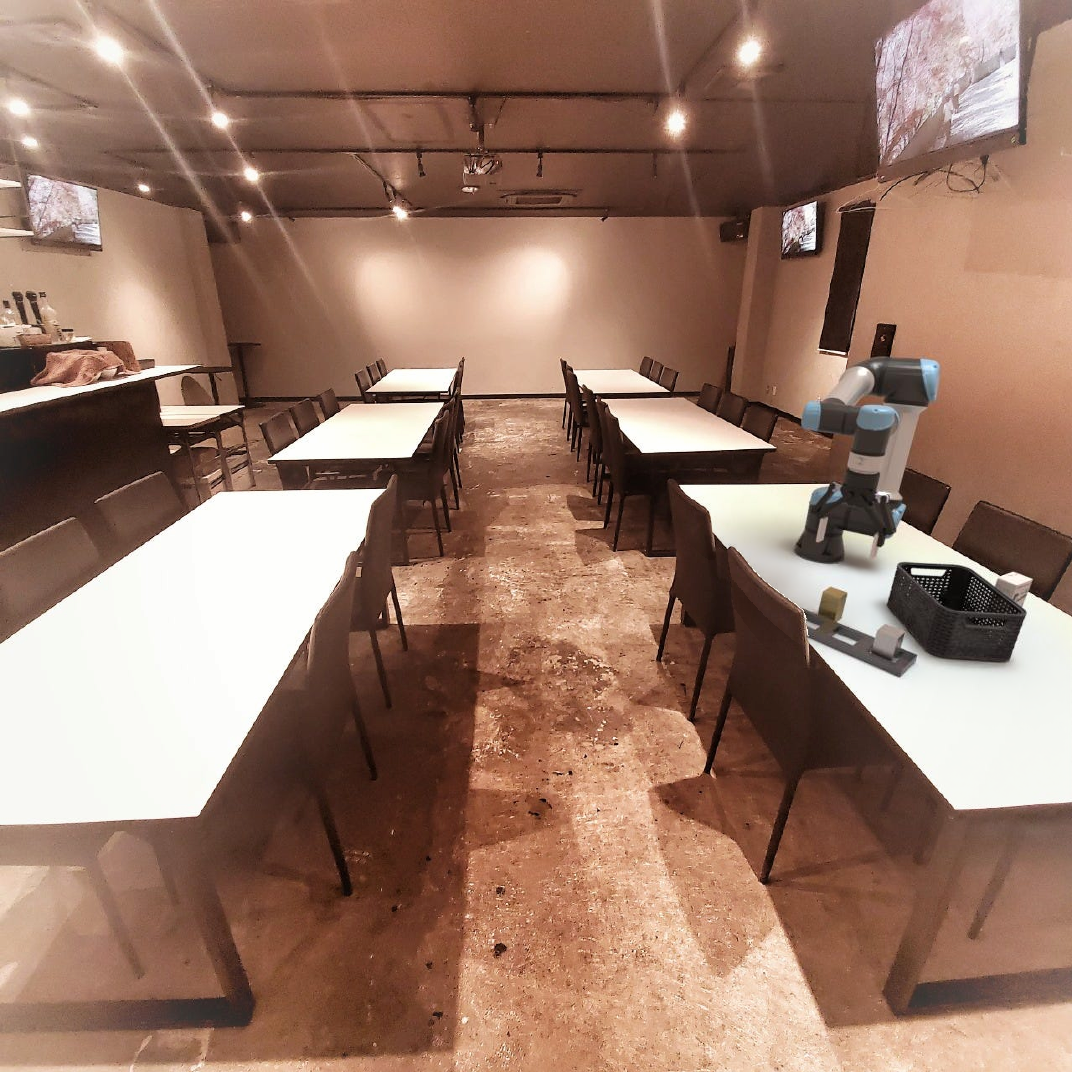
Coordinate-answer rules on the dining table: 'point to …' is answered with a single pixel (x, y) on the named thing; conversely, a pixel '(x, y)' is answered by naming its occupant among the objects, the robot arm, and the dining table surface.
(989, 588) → the storage bin
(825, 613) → the maple wood beam
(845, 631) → the rail
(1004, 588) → the ink box
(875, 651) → the light grey block
